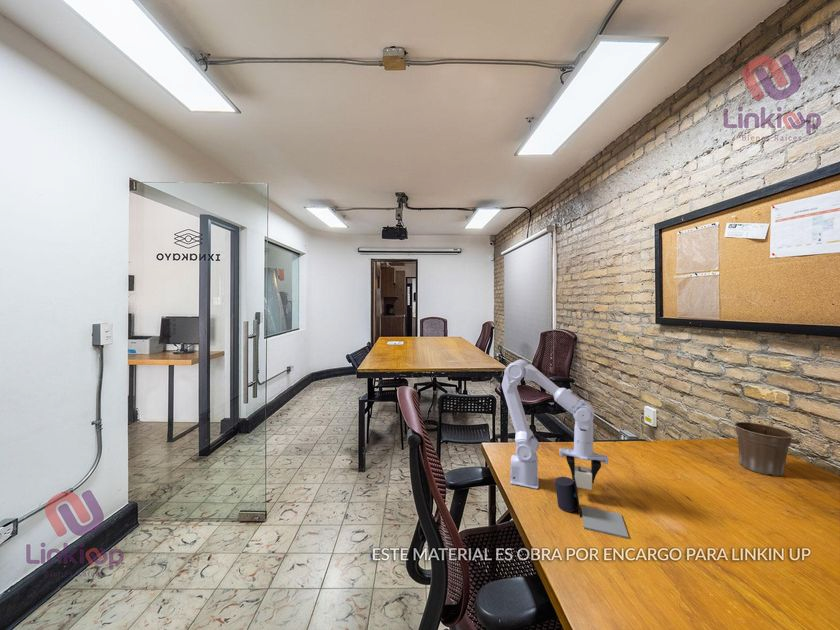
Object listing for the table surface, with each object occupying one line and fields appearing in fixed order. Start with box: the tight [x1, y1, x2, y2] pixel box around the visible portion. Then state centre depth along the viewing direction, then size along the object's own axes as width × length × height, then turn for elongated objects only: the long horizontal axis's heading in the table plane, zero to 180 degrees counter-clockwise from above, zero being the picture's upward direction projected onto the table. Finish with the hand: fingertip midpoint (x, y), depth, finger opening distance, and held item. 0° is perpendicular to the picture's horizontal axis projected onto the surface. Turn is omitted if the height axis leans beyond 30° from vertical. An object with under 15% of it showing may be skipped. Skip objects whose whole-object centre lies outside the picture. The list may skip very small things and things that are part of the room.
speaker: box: [554, 475, 582, 518], centre depth 104 cm, size 8×6×10 cm
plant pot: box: [734, 421, 795, 477], centre depth 130 cm, size 16×16×16 cm
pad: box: [580, 505, 630, 539], centre depth 97 cm, size 11×11×1 cm
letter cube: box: [574, 465, 593, 491], centre depth 110 cm, size 5×5×5 cm
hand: (582, 480), depth 110 cm, fingers closed on letter cube, 5 cm apart
